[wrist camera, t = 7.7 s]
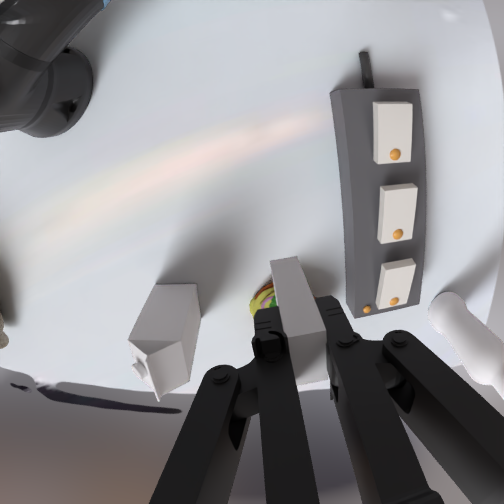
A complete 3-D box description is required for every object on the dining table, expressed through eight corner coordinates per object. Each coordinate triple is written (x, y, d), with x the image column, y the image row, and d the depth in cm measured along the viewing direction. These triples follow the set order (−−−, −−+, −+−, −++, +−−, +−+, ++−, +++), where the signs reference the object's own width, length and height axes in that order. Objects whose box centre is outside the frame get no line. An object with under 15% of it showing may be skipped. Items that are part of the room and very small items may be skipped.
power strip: (322, 54, 37) (333, 44, 32) (396, 55, 37) (414, 48, 31) (346, 302, 52) (355, 321, 47) (407, 289, 52) (421, 306, 46)
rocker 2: (380, 186, 38) (385, 191, 36) (412, 183, 38) (418, 187, 36) (377, 238, 42) (381, 244, 41) (407, 233, 42) (412, 239, 41)
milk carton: (196, 282, 50) (175, 362, 33) (201, 319, 53) (186, 403, 35) (154, 283, 50) (117, 360, 32) (161, 319, 53) (133, 400, 35)
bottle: (425, 329, 56) (499, 438, 28) (425, 297, 53) (513, 409, 25) (456, 315, 55) (535, 412, 27) (457, 283, 52) (551, 380, 24)
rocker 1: (372, 101, 33) (378, 104, 32) (406, 101, 33) (413, 104, 32) (373, 160, 38) (378, 164, 37) (405, 157, 38) (411, 162, 37)
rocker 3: (381, 263, 42) (386, 271, 40) (411, 258, 42) (416, 265, 40) (375, 302, 47) (378, 310, 45) (403, 296, 46) (406, 304, 45)
